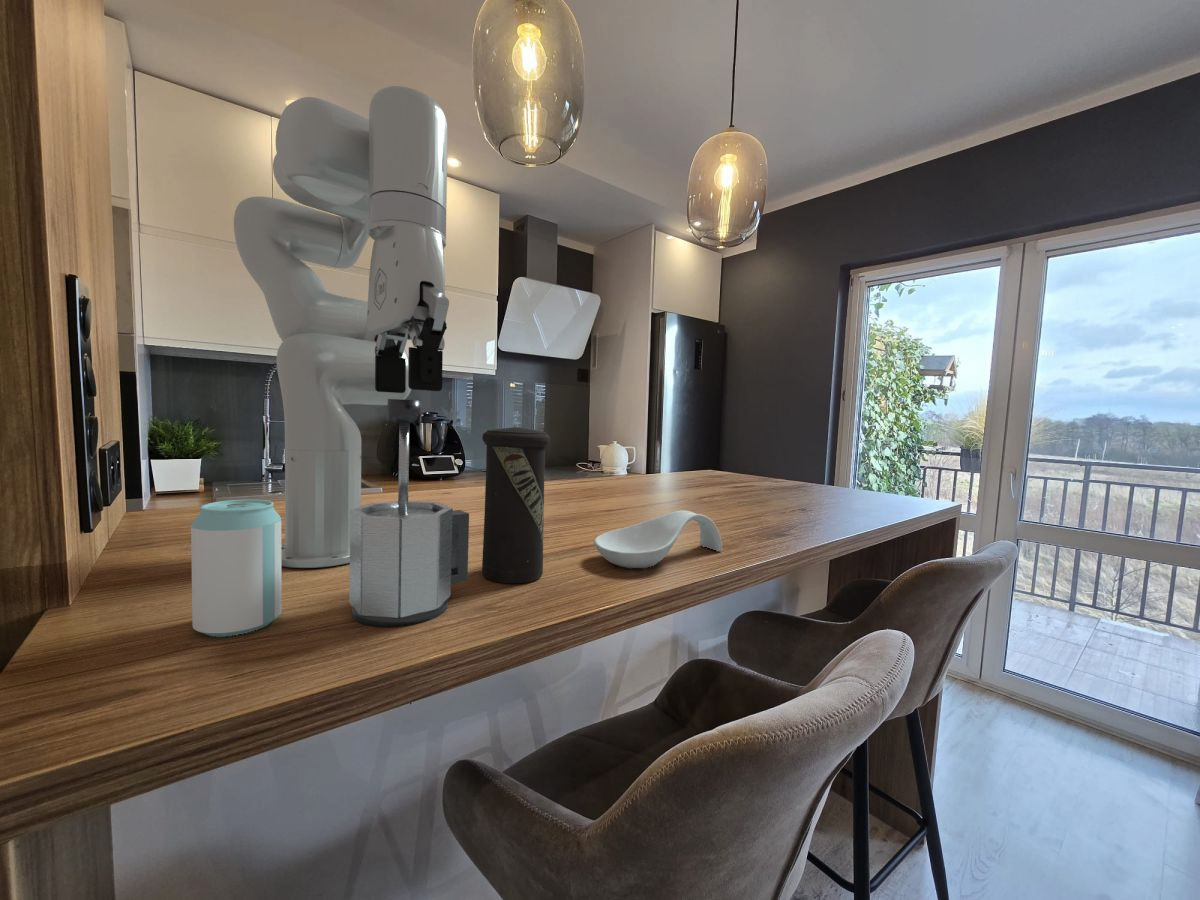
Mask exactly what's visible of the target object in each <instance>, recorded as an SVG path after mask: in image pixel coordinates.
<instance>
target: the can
mask: <svg viewBox="0 0 1200 900" xmlns="http://www.w3.org/2000/svg"><path fill="white" fill-rule="evenodd" d="M199 510H200V511H199V514H197V516H196V518H194V520H193V521H192V523H191V524H190V535H191V536H190V537H191V539H190V540H191V542H190V545H191V548H190V549H191V551H190V552H191V600H192V602H191V605H192V606H191V609H192V610H191V611H192V613H191V615H192V617H191V619H192V620H191V623H192V629H193V630H195V631H197V632H199V633H202V634H204V635H207V636H208V637H214V638H215V636H216V638H225V637H226V636H228V637H235V636H234V635H236V636H239V635H238V634H242V635H244V634H243V633H246V632H250V633H252V632H251V631H253V632H255V631H254V630H256V631H258V629H259V630H261V629H262V628H265V627H266V626H268V625H269V624H271V622H273V621H274V620H276V619H277V618H278V617H279V616H280V615H281V614H282V566H281V546H282V517H281V516H280V514H279V513H278V512H277V510H276V509H275V508H274V502H273V501H271V500H265V499H232V500H221V501H215V502H210V503H209V502H208V503H206V504H202V505H201V506H200V507H199ZM260 628H261V629H260ZM246 634H247V633H246ZM232 635H233V636H232ZM226 638H227V637H226Z"/></svg>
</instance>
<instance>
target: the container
mask: <svg viewBox="0 0 1200 900" xmlns="http://www.w3.org/2000/svg"><path fill="white" fill-rule="evenodd" d="M481 438H482V441H483V443H484V444H485V445H486V452H485V453H486V455H485V456H486V460H485V465H486V467H485V486H484V487H485V489H484V490H485V491H484V517H483V542H482V558H481V559H482V560H481V561H482V562H481V565H482V567H481V569H482V570H481V571H482V575H483V577H484V578H486V579H487V580H488V581H492V582H496V583H500V584H501V583H502V584H503V583H504V584H523V583H525V584H526V583H530V582H535V581H536V580H538V579H540V578H541V577H542V575H543V574H544V573H543V569H544V568H543V567H544V527H545V525H544V524H545V523H544V522H545V521H544V520H545V472H546V471H545V469H546V447H548V445H549V444H550V442H551V437H550V436H549V434H547V432H545V431H542V430H536V429H529V428H525V427H503V428H502V427H501V428H497V429H488V430H486V431H485V432H484V433H483V434H482V436H481Z"/></svg>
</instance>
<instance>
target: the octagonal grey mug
mask: <svg viewBox="0 0 1200 900" xmlns="http://www.w3.org/2000/svg"><path fill="white" fill-rule="evenodd" d="M408 508H411V509H425V510H430V511H433V512H435V513H434V514H429V515H419V516H410V517H385V516H369V514H371V513H373V512H377V511H382V510H389V509H398V500H395V501H383V502H374V503H373V502H371V503H367V504H365V505H361V507H358V508H355V509H352V510H350V563H349V598H348V599H349V604H350V606H351V617H352V618H353V620H354V621H356V622H357V623H359V624H363V625H366V626H372V627H378V628H380V627H381V628H394V627H395V628H396V627H398V628H399V627H405V626H411V625H417V624H421V623H425V622H427V621H430V620H432V619H434V618H437V617H438V616H440V615H442V614H444V613H445V612H446V611H447V609H448V607H449V598H450V597H451V589H452V588H451V587H452V585H453V584H458V583H462V582H467V581H468V580H469V579H468V577H469V576H468V571H469V570H468V569H469V538H470V537H469V536H470V534H469V533H470V528H469V527H470V513H469V512H466V511H464V510H461V509H458V510H457V509H456V510H453V509H454V508H453V507H451V506H448V505H446V504H443V503H441V502H436V501H419V500H408Z"/></svg>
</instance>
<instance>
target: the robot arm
mask: <svg viewBox="0 0 1200 900" xmlns="http://www.w3.org/2000/svg"><path fill="white" fill-rule="evenodd" d="M369 103H370V104H369V108H368V109H369V110H368V111H369V112H368V118H367V117H365V116H363V115H360V114H358V113H356V112H354V111H351V110H349V109H347V108H344V107H342V106H339V105H337V104H334V103H332V102H330V101H328V100H325V99H322V98H318V97H313V96H312V97H311V96H304V97H300V98H298V99H295V100H294V101H292V102H290V103H288V105H286V106H285V108H284V109H283V111H282V113H281V115H280V117H279V120H278V122H277V123H278V124H277V127H276V131H275V150H276V151H275V152H276V154H275V155H274V157H273V161H272V173H273V175H274V179H275V181H276V183H277V185H278V186H279V188H280V189H281V190H282V191H283V192H284V193H285V194H286V195H287V196H288V197H289V198H291V199H292V200H293V201H295V202H297V203H299V204H297V203H295V202H290V201H288V200H284V199H279V198H274V197H269V196H259V195H258V196H250V197H247V198H245V199H242V200H241V201H240V202H239V203H238V205H237V206H236V208H235V210H234V214H233V232H234V239H235V244H236V248H237V251H238V254H239V256H240V259H241V261H242V263H243V265H244V267H245V269H246V270H247V272H248V274H249V276H251V278H252V279H253V280H254V282H255V283H256V285H258V287H259V289H260V290H261V292H262V293H263V295H264V299H265V302H266V305H267V307H268V312H269V313H270V316H271V320H272V322H273V325H274V328H275V330H276V333H277V335H278V336H279V338H280V339H281V341H282V342H281V343H280V345H279V347H278V349H277V352H276V369H277V376H278V381H279V387H280V391H281V392H280V393H281V399H282V405H283V417H284V544H282V545H281V567H284V568H285V567H286V568H294V569H297V568H298V569H313V568H315V569H316V568H328V567H333V566H341V565H345V564H350V510H352V509H355V508H358V507H361V506H362V436H361V432H360V429H359V427H358V425H357V424H356V421H355V420H353V418H352V417H351V416H350V414H349V412H347V410H346V409H345V408H344V406H343V405H370V406H387V404H388V399H401V400H407V398H408V397H409V395H410V394H411V391H412V390H415V391H428V392H429V391H430V392H440V391H442V389H443V358H444V357H443V356H444V355H443V354H444V353H443V350H444V349H445V346H446V344H445V343H446V342H445V338H444V334H445V332H446V330H447V329H448V326H447V322H446V320H447V315H448V312H449V311H448V310H449V306H450V300H449V299H448V297H447V296H446V280H445V279H446V278H445V277H446V275H445V273H446V272H445V260H444V259H445V258H444V257H445V256H444V249H445V248H446V246H447V203H448V202H447V200H448V199H447V195H448V194H447V193H448V189H447V188H448V185H447V184H448V122H447V117H446V115H445V112H444V110H443V109H442V107H441V106H440V105H439V104H438V103H437V102H436V101H435V100H434V99H433V98H432V97H430V96H428V94H425V93H423V92H422V91H420V90H417V89H414V88H412V87H407V86H401V85H391V86H387V87H383V88H380V89H379V90H378V91H377V92H375V93H374V95H373V96H372V98H371V99H370V102H369ZM369 238H371V240H373V244H372V245H373V246H372V251H371V258H370V266H369V278H368V292H367V293H368V294H367V295H368V296H367V301H366V300H361V299H358V298H352V297H346V296H342V295H337V294H334V293H331V292H328V291H327V290H326V288H325V286H324V283H323V281H322V280H321V278H320V276H319V275H317V273H316V271H314V270H313V269H312V268H311V267H310V266H308V264H306V263H304V262H308V263H313V264H315V265H320V266H325V267H329V268H335V269H340V270H341V269H349V268H351V267H353V266H354V264H356V262H357V261H358V260H359V258H360V256H361V254H362V252H363V249H364V248H365V246H366V244H367V242H368V240H369ZM409 340H410V341H411V343H412V346H413V347H412V346H410V347H408V353H407V351H406V345H407V342H408V341H409Z"/></svg>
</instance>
